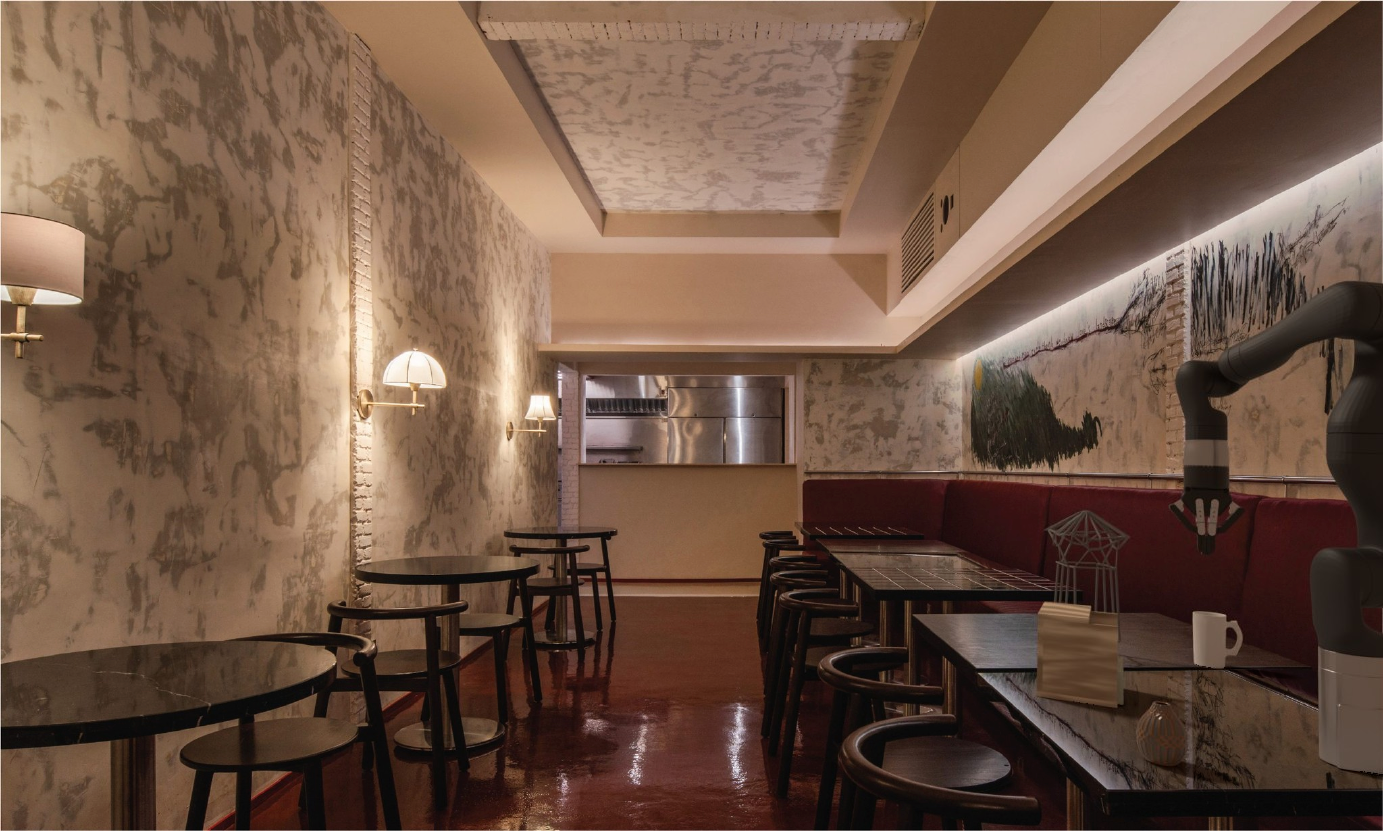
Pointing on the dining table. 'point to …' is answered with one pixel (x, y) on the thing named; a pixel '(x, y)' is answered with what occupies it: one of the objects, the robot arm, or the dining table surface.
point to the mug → (1213, 639)
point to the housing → (1077, 654)
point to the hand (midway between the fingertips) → (1206, 554)
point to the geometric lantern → (1103, 524)
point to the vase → (1162, 735)
